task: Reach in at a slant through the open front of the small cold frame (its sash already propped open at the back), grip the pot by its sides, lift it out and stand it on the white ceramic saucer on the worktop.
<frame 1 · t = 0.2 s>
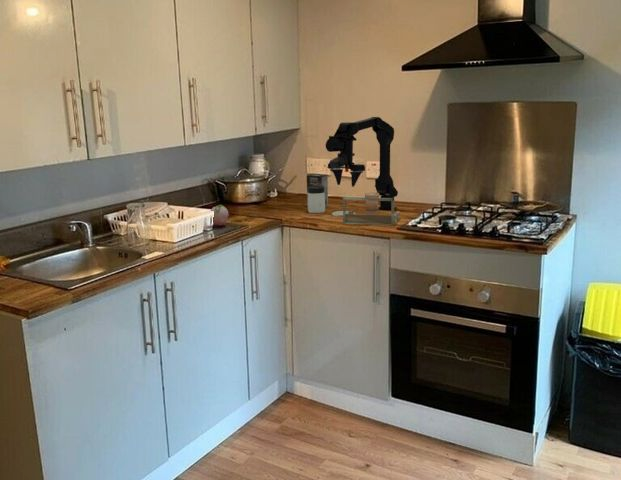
hand: (345, 185, 288), 14 cm above the countertop, tool pointing down, fingers open, 9 cm apart
coffee box: (317, 207, 319), on the countertop
cold frame: (372, 222, 279), on the countertop
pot: (372, 220, 279), point 1 cm above the countertop, touching cold frame
jar: (316, 212, 306), on the countertop
saucer: (343, 214, 297), on the countertop
decorative fruit: (219, 226, 279), on the countertop
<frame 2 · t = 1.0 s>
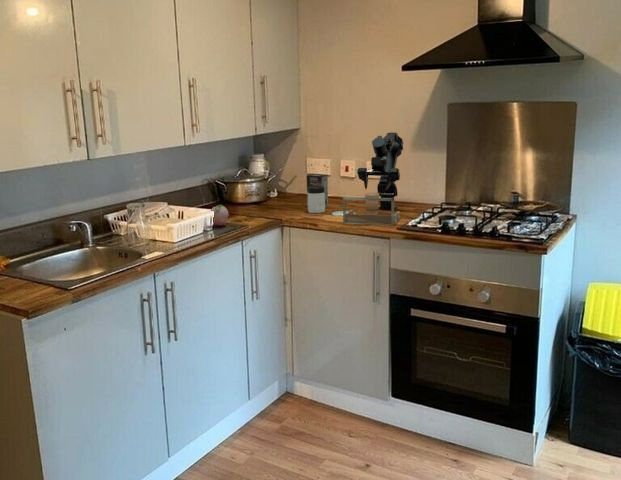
hand: (375, 189, 283), 13 cm above the countertop, tool tilted 45°, fingers open, 9 cm apart
nothing on the countertop moved.
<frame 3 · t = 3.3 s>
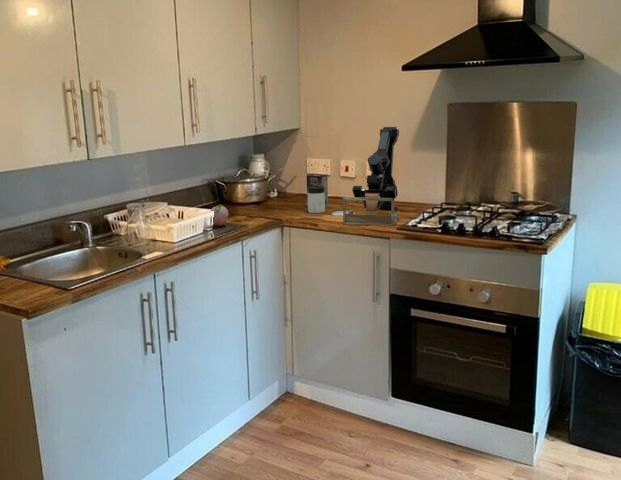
hand: (371, 207, 276), 7 cm above the countertop, tool tilted 45°, fingers closed on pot, 5 cm apart
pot: (372, 220, 279), point 1 cm above the countertop, touching cold frame, gripper
everything else where it was.
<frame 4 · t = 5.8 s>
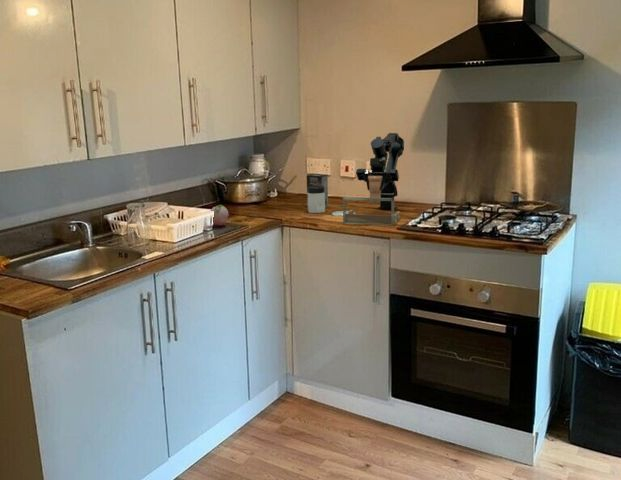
hand: (374, 190, 284), 13 cm above the countertop, tool tilted 45°, fingers closed on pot, 5 cm apart
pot: (375, 202, 286), point 7 cm above the countertop, touching gripper
everything else where it was.
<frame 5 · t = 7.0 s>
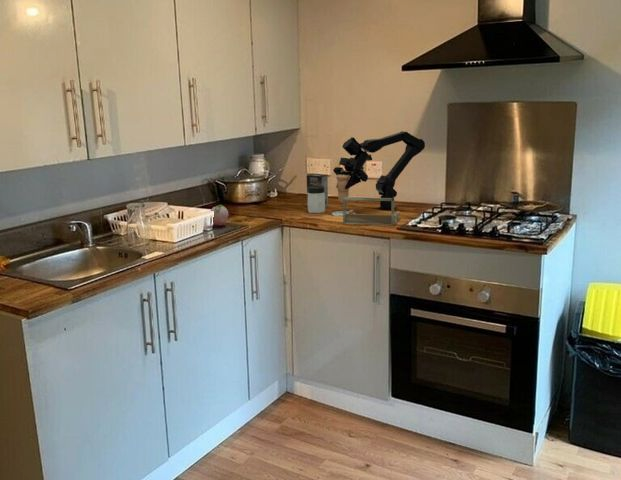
hand: (341, 188, 294), 12 cm above the countertop, tool tilted 45°, fingers closed on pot, 5 cm apart
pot: (343, 200, 296), point 7 cm above the countertop, touching gripper
everything else where it was.
when the fingers open (8 cm above the countertop, at t = 8.1 s): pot drops 1 cm, resting on saucer.
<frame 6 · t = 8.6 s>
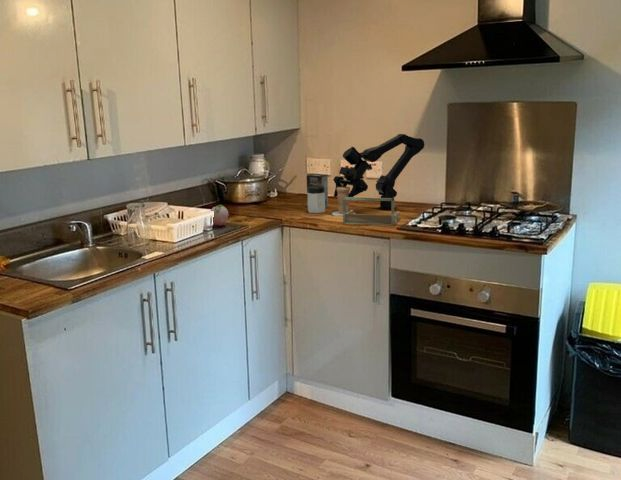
hand: (341, 197, 295), 8 cm above the countertop, tool tilted 45°, fingers open, 9 cm apart
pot: (343, 213, 297), point 1 cm above the countertop, touching saucer
everything else where it was.
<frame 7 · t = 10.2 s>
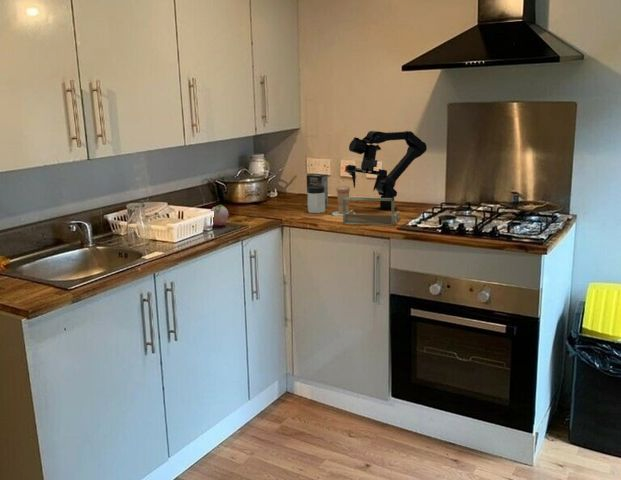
hand: (363, 189, 297), 11 cm above the countertop, tool tilted 25°, fingers open, 9 cm apart
nothing on the countertop moved.
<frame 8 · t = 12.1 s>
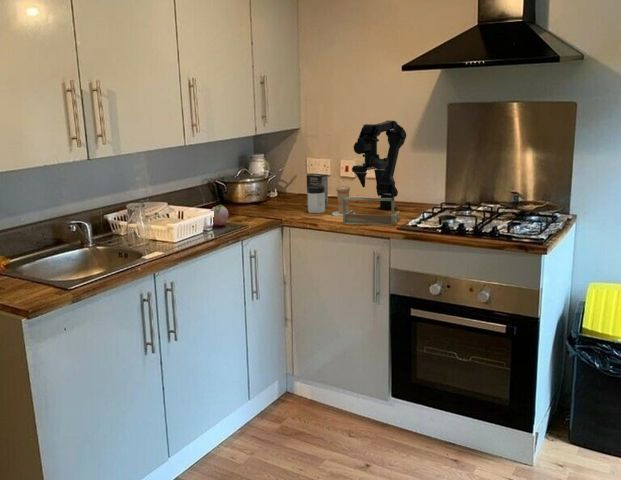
hand: (370, 186, 294), 13 cm above the countertop, tool pointing down, fingers open, 9 cm apart
nothing on the countertop moved.
at the end: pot 0.0 cm from the saucer (horizontally); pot tilted 0°; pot point 0.7 cm above the countertop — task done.
